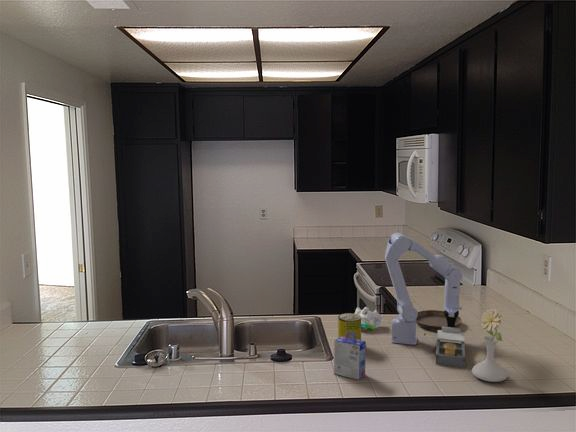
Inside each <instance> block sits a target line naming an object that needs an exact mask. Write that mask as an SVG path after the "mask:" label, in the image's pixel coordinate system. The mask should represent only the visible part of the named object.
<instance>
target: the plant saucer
mask: <svg viewBox="0 0 576 432" xmlns="http://www.w3.org/2000/svg"><path fill="white" fill-rule="evenodd" d="M417 312H418V316H417V318H416V325H418V326H419V327H420V328H424V329H426V330H430V331H436V332H438V330H442V327H448V326H447V319H446V317H445V314H444V311H443V310H439V309H438V310H436V309H433V310H432V309H428V310H420V311H417ZM461 323H462V317H461V316H459V315H458V317H457V319H456V322H455V326H454V328H458V327H459V325H460V324H461Z"/></svg>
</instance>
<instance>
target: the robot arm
mask: <svg viewBox="0 0 576 432" xmlns="http://www.w3.org/2000/svg"><path fill="white" fill-rule="evenodd" d="M407 251H408V252H415V253H417V254H418V255H419V256H421V257H422V258H424V259H425V260H426V261H428V262H429V267H431V268H432V269H433V270H435V271H436V272H437V273H439V274H440V275H442V276H443V277H444V279H445V280H444V298H443V299H444V305H443V309H444V314H445V317H446V319H447V326H448V327H451V328H454V326H455V322H456V319H457V317H458V316H459V315H460V313H459V312H460V310H461V311H463V306H460V294H461V293H460V292H461V291H460V290H461V288H460V287H461V281H462V279H463V276H464V275H463V273H462V271H461V270H460V269H459V268H457V267H456V266H455V264H454V263H453V262H449V261H447V260H446V257H445V256H443V254H433V253H431V251H429V250H428V249H427V248H425V247H424V246H423V245H421V244H420V243H419V242H418V241H417V240H415V239H413V238H411V237H409V236H407V235H404V233H402V232H400V231H396V232H394V233H392V234H391V235H390V237H388V239H387V246H386V249H385V252H384V253H385V254H384V260H385V264H386V267H387V270H388V273H389V277H390V281H391V283H392V286H393V290H394V293H395V295H396V303H397V305H396V310H397V312H398V316H397V318H392V323H391V324H392V326H391V327H392V328H391V343H392V344H393V343H395V344H404V345H410V346H411V345H414V346H416V345H417V341H418V336H416V335H417V323H416V318H417V316H418V312H419V311H418V310H417V308H416V307H415V306H414V304H413V302H412V299H411V297H410V295H409V292H408V289H407V284H406V281H405V278H404V275H403V272H402V269H401V266H400V262H399V259H400V258H401V257H402V255H403V254H405V253H406V252H407Z"/></svg>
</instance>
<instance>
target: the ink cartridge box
mask: <svg viewBox="0 0 576 432" xmlns="http://www.w3.org/2000/svg"><path fill="white" fill-rule="evenodd" d="M348 335H353V336H354V338H353V337H348ZM333 345H334V346H333V347H334V349H333V350H334V351H333V352H334V353H333V354H334V355H333V357H334V360H333V375H339V376H342V377H346V378H350V379H355V380H361V379H362V378H363V377H365V376H366V354H367V353H366V351H367V348H366V345H367V344H366V340H363V339H361V340H357V339H356V333H351V332H347V335H346V337H339V338H338V337H337V338H336V339H335V340H334V344H333Z"/></svg>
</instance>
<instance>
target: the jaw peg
mask: <svg viewBox="0 0 576 432" xmlns="http://www.w3.org/2000/svg"><path fill="white" fill-rule="evenodd" d="M444 349H445V355H452V356H455V350H456V345H455V344H451V343H446V344H444Z"/></svg>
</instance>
